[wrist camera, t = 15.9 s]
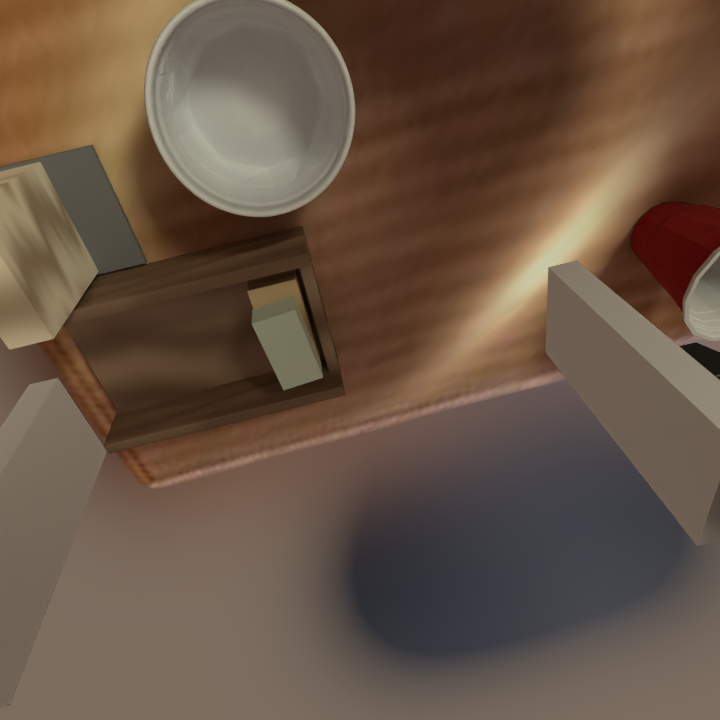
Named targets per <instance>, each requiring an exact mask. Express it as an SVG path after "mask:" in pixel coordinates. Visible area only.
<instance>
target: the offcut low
mask: <svg viewBox="0 0 720 720" xmlns="http://www.w3.org/2000/svg"><path fill="white" fill-rule="evenodd" d="M247 292H248V295H249V298H250V301H251V303H252V306H253V309H255V308H258V307H261V306H264V305H267V304H270V303H273V302H276V301H279V300H282V299H285V298H288V297H291V296H294V298H295V300H296V302H297V305H298V307H299V310H300V312H301V315H302V317H303V319H304V322H305V324H306V327H307V329H308V332H309V334H310V337H311V339H312V341H313V344H314V346H315V349H316V351H317V354H318V356H319V358H320V355H319V349H318V345H317V341H316V338H315V334H314V331H313V327H312V324H311V321H310V317H309V314H308V310H307V307H306V303H305V300H304V296H303V293H302V290H301V286H300V283H299V279H298V276H297V272H296V269H294V270H290V271H286V272H282V273H278V274H273V275H269V276H265V277H261V278H257V279H253V280H249V281H248V287H247Z"/></svg>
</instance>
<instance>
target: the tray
mask: <svg viewBox="0 0 720 720" xmlns="http://www.w3.org/2000/svg"><path fill="white" fill-rule="evenodd" d="M294 269H296V272H297V276H298V279H299V283H300V286H301V290H302V293H303V296H304V300H305V303H306V307H307V310H308V314H309V317H310V321H311V324H312V327H313V331H314V334H315V338H316V341H317V345H318V349H319V355H320V361H321V366H322V373H323V378H320V379H317V380H314V381H311V382H308V383H305V384H302V385H299V386H296V387H293V388H290V389H287V390H283V388H282V386H281V384H280V382H279V380H278V378H277V376H276V374H275V372H274V369H273V367H272V365H271V363H270V361H269V359H268V357H267V355H266V353H265V351H264V349H263V347H262V345H261V343H260V341H259V338H258V336H257V334H256V332H255V330H254V328H253V326H252V309H253V306H252V303H251V301H250V298H249V295H248V292H247V287H248V281H249V280H253V279H257V278H261V277H265V276H269V275H273V274H278V273H282V272H286V271H290V270H294ZM63 326H66V328H67V330H68V331H69V333H70V334H71V336H72V338H73V339H74V341H75V343H76V344H77V346H78V347H79V349H80V351H81V352H82V354H83V355H84V357H85V359H86V360H87V362H88V364H89V365H90V367H91V368H92V370H93V372H94V373H95V375H96V377H97V378H98V380H99V381H100V383H101V385H102V386H103V388H104V390H105V391H106V393H107V394H108V396H109V398H110V399H111V401H112V403H113V404H114V406H115V407H116V409H117V413H116V416H115V418H114V421H113V423H112V426H111V429H110V431H109V434H108V436H107V439H106V442H105V444H104V447H105V448H106V450H107V451H108V453H113V452H117V451H121V450H125V449H129V448H133V447H137V446H141V445H145V444H150V443H154V442H158V441H162V440H166V439H170V438H174V437H178V436H182V435H186V434H190V433H194V432H198V431H202V430H206V429H210V428H214V427H218V426H222V425H226V424H230V423H234V422H238V421H242V420H246V419H250V418H254V417H258V416H262V415H266V414H270V413H274V412H278V411H282V410H286V409H290V408H294V407H298V406H302V405H306V404H310V403H314V402H318V401H322V400H326V399H330V398H334V397H338V396H342V395H345V391H344V386H343V381H342V376H341V372H340V367H339V362H338V357H337V353H336V350H335V346H334V342H333V339H332V335H331V331H330V327H329V324H328V320H327V316H326V312H325V309H324V305H323V301H322V298H321V294H320V290H319V286H318V283H317V279H316V275H315V271H314V268H313V264H312V260H311V257H310V253H309V249H308V245H307V242H306V238H305V234H304V230H303V227H302V226H301V227H297V228H293V229H289V230H284V231H280V232H276V233H272V234H268V235H264V236H260V237H256V238H252V239H248V240H244V241H239V242H235V243H231V244H227V245H223V246H219V247H215V248H211V249H207V250H203V251H198V252H194V253H190V254H186V255H182V256H178V257H174V258H170V259H166V260H162V261H158V262H153V263H149V264H145V265H141V266H137V267H133V268H129V269H125V270H121V271H117V272H112V273H108V274H104V275H100V276H96V277H95V278H94V279H93V281H92V282H91V284H90V285H89V287H88V288H87V290H86V291H85V293H84V294H83V296H82V297H81V299H80V300H79V302H78V303H77V305H76V306H75V308H74V309H73V311H72V312H71V314H70V315H69V317H68V318H67V320H66V321H65V323H64V324H63Z"/></svg>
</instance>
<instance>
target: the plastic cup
mask: <svg viewBox="0 0 720 720" xmlns="http://www.w3.org/2000/svg"><path fill="white" fill-rule="evenodd" d="M631 243H632V249H633V250H634V253H635V254H636V256H637V257H638V258H639V260H640V261H641V262H642V263H643V264H644V265H645V266H646V267H647V268H648V270H649V271H650V272H651V274H652V275H653V276H654V278H655V279H656V280H657V281H658V282H659V283H660V284H661V285H662V287H663V288H664V289H665V290H666V291H667V292H668V293H669V295H670V296H671V297H672V298H673V299H674V300H675V301H676V303H677V304H678V306H679V308H680V309H681V310H682V313H683V314H682V319H683V320H684V322H685V324H686V325H687V327H688V328H689V330H690V331H691V333H692V334H693V335H694V336H696V337H699V338H702V339H705V340H708V341H718V340H720V209H719V208H714V207H709V206H704V205H700V206H698V205H693V204H688V203H683V202H667V203H662V204H659V205H657V206H655V207H653V208H651V209H650V210H649V211H648V212H646V213H645V214H644V215H643V216H642V217H641V218H640V220H639V221H638V223H637V224H636V226H635V227H634V231H633V234H632V237H631Z"/></svg>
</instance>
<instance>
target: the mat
mask: <svg viewBox="0 0 720 720" xmlns="http://www.w3.org/2000/svg"><path fill="white" fill-rule="evenodd" d="M38 162H41V164H42V166H43V168H44V170H45V172H46V174H47V175H48V177H49V179H50V181H51V183H52V185H53V187H54V189H55V190H56V192H57V194H58V196H59V198H60V200H61V202H62V204H63V205H64V207H65V209H66V211H67V213H68V215H69V217H70V219H71V220H72V222H73V224H74V226H75V228H76V230H77V232H78V234H79V235H80V237H81V239H82V241H83V243H84V245H85V247H86V249H87V250H88V252H89V254H90V256H91V258H92V260H93V262H94V264H95V265H96V267H97V269H98V271H99V272H98V273H97V275H99V274H103V273H107V272H111V271H115V270H119V269H123V268H127V267H132V266H136V265H140V264H144V263H146V262H147V260H146V258H145V256H144V254H143V251H142V249H141V247H140V245H139V243H138V241H137V239H136V237H135V234H134V232H133V230H132V228H131V226H130V224H129V222H128V219H127V217H126V215H125V213H124V211H123V209H122V207H121V205H120V202H119V200H118V198H117V196H116V194H115V192H114V190H113V187H112V185H111V183H110V181H109V179H108V177H107V175H106V173H105V170H104V168H103V166H102V164H101V162H100V160H99V158H98V155H97V153H96V151H95V149H94V147H93V145H90V146H86V147H81V148H77V149H73V150H69V151H65V152H61V153H56V154H52V155H48V156H44V157H40V158H36V159H31V160H27V161H23V162H19V163H15V164H11V165H7V166H2V167H0V171H4V170H9V169H13V168H17V167H21V166H25V165H29V164H34V163H38Z"/></svg>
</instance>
